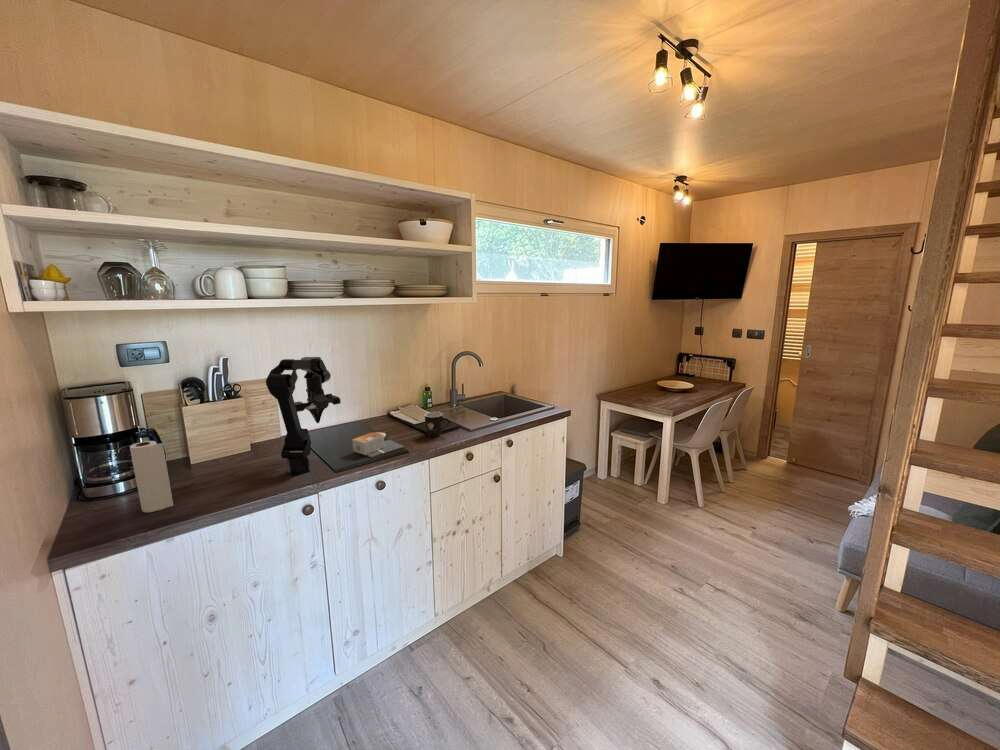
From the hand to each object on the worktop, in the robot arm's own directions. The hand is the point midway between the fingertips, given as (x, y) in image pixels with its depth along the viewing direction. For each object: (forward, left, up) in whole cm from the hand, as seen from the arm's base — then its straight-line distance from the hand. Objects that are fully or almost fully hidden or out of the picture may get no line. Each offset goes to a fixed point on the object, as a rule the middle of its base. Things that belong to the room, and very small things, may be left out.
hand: (317, 423), depth 168 cm
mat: (+20, -16, -13) cm, 28 cm away
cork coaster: (+26, 0, -13) cm, 29 cm away
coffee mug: (+47, -19, -13) cm, 52 cm away
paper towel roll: (-55, -10, -13) cm, 57 cm away
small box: (+10, -15, -10) cm, 20 cm away
